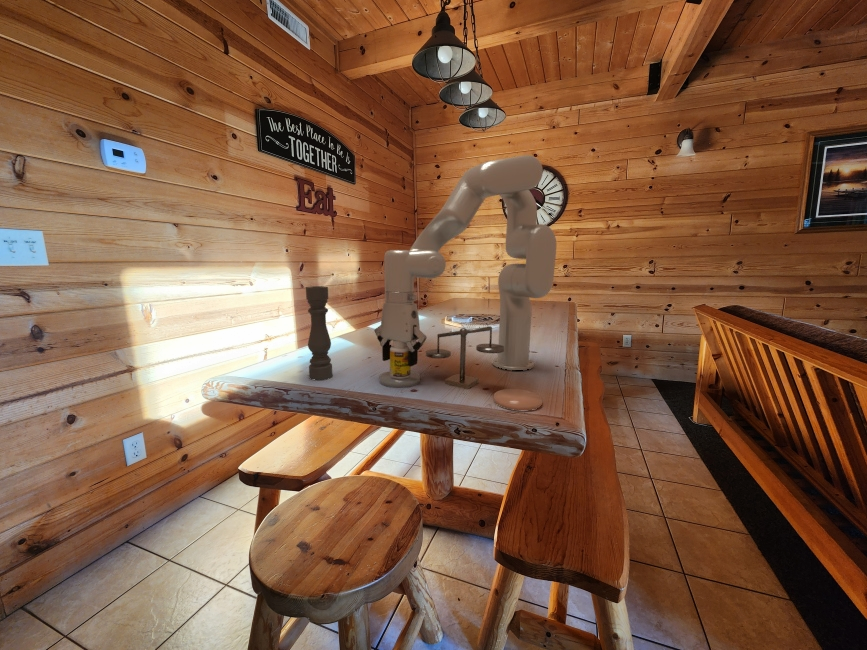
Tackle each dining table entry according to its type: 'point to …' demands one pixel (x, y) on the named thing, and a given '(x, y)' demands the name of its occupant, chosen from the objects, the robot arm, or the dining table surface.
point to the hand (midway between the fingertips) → (399, 362)
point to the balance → (464, 355)
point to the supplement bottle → (399, 360)
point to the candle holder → (319, 333)
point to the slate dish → (399, 380)
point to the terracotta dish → (517, 399)
